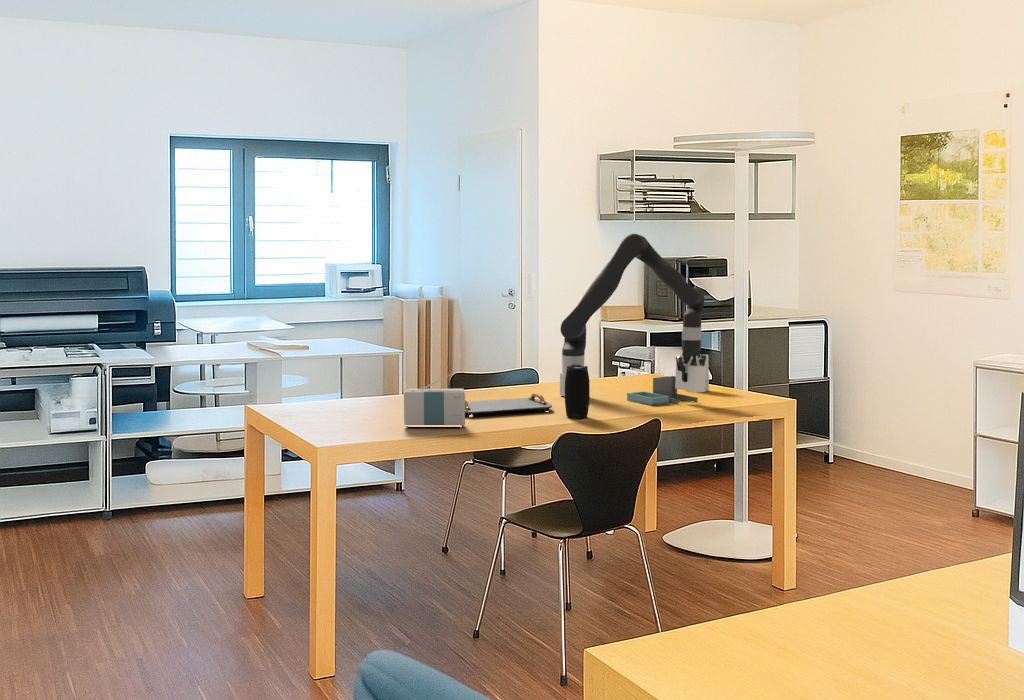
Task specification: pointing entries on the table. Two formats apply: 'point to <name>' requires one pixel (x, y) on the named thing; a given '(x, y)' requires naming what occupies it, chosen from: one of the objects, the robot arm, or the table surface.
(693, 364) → the light grey block
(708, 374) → the skincare box
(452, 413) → the stereo radio cassette player
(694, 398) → the bay
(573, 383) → the portable speaker
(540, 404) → the serving board
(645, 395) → the tray
